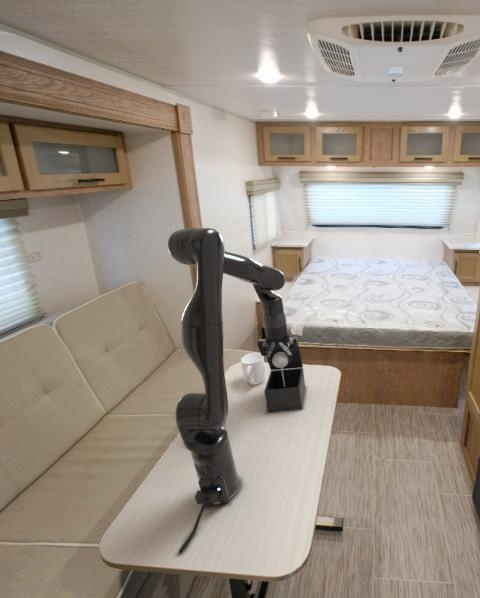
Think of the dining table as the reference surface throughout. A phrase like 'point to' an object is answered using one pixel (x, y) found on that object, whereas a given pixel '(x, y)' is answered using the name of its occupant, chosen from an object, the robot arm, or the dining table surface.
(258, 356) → the mug
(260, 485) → the dining table surface
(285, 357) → the lollipop
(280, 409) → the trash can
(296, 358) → the bin lid
